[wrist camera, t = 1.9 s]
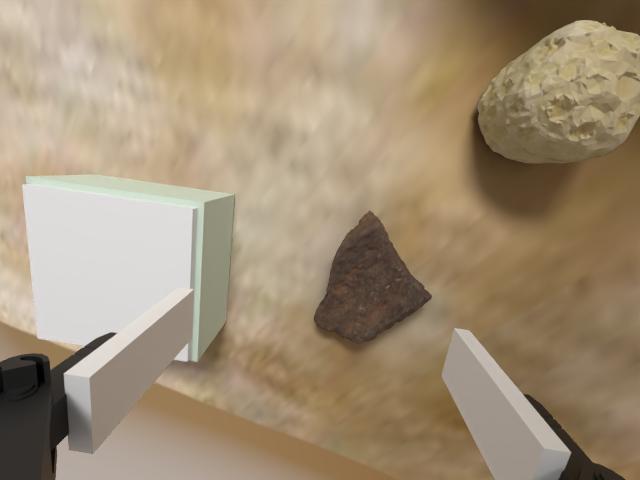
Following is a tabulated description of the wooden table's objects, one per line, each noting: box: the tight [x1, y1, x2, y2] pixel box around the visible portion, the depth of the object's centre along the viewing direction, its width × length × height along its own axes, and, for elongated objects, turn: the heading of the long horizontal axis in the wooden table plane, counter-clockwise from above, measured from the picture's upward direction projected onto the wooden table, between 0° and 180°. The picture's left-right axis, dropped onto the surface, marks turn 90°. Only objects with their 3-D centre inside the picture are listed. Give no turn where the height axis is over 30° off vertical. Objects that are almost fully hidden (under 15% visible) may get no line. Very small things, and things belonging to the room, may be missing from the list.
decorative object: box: [477, 20, 640, 164], centre depth 23 cm, size 9×10×10 cm
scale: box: [22, 174, 235, 362], centre depth 28 cm, size 15×14×8 cm
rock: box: [314, 211, 432, 343], centre depth 29 cm, size 11×10×4 cm
